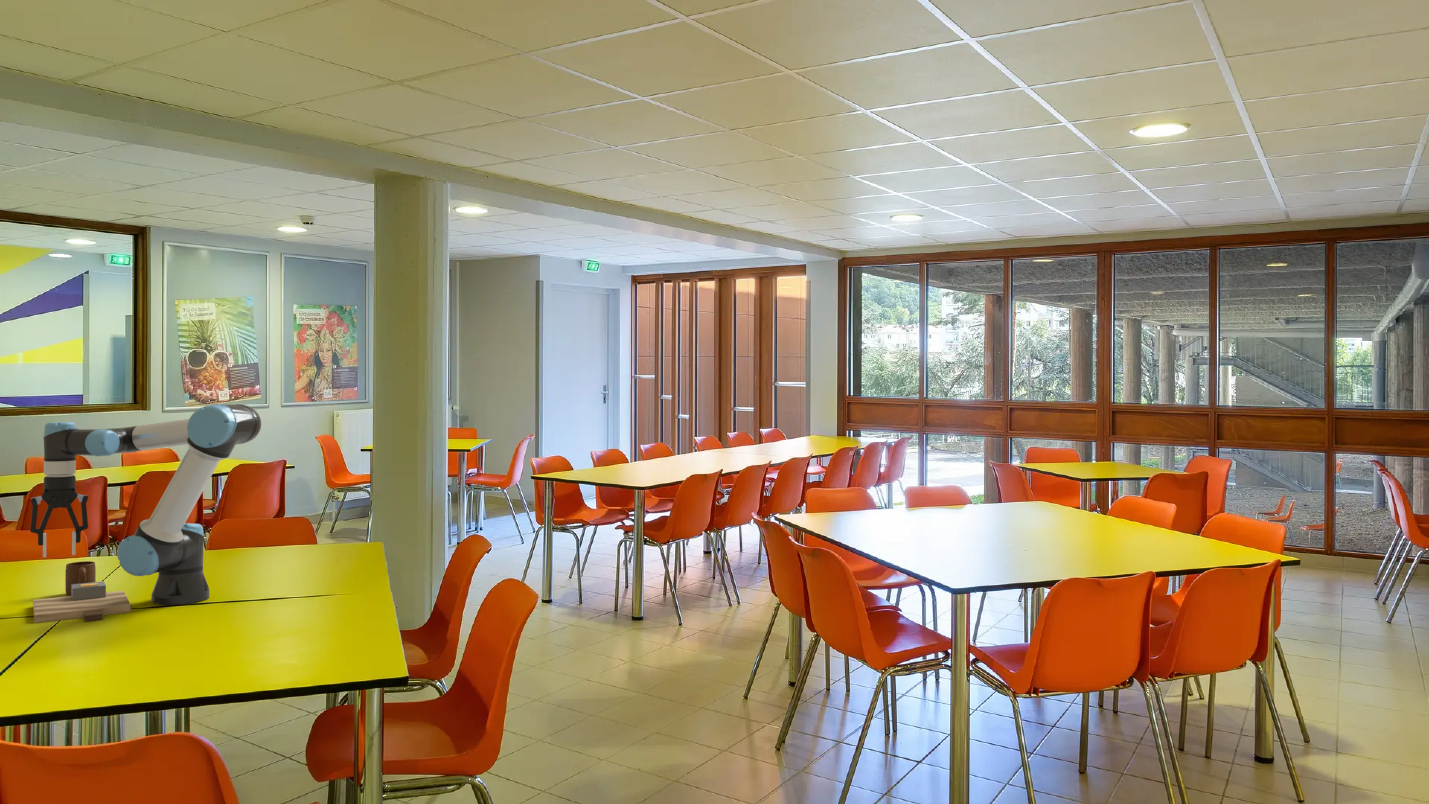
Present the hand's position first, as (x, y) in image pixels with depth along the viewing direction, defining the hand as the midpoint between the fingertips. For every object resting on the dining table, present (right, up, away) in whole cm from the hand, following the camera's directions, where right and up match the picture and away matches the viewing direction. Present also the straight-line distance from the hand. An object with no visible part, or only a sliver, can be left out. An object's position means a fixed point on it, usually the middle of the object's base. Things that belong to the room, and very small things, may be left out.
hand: (59, 555), depth 265 cm
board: (+10, -15, -5) cm, 19 cm away
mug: (-4, -15, +15) cm, 21 cm away
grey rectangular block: (+5, -13, +5) cm, 15 cm away
